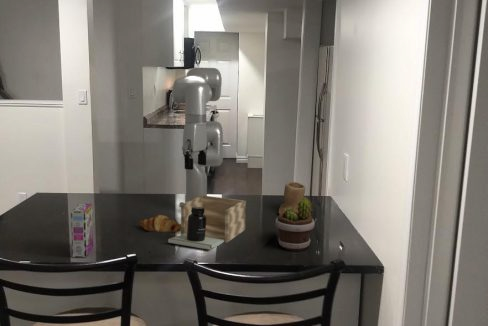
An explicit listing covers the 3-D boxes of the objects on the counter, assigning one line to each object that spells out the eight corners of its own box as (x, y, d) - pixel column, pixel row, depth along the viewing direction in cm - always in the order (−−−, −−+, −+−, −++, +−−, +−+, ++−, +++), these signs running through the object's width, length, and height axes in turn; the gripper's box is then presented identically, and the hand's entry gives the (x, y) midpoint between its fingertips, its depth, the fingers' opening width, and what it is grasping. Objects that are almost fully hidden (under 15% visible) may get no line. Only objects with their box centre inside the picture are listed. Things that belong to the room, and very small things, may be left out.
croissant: (188, 240, 191) (192, 221, 193) (178, 235, 182) (183, 215, 184) (142, 232, 198) (147, 214, 200) (131, 228, 189) (136, 209, 191)
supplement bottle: (202, 242, 170) (204, 209, 169) (184, 240, 171) (186, 207, 170) (207, 238, 176) (209, 207, 176) (189, 236, 178) (191, 205, 177)
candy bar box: (87, 257, 161) (85, 211, 158) (72, 258, 161) (69, 211, 158) (94, 246, 172) (92, 203, 169) (80, 246, 172) (78, 203, 169)
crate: (201, 225, 199) (201, 195, 197) (245, 232, 191) (245, 200, 189) (181, 237, 184) (181, 204, 181) (227, 245, 176) (228, 211, 174)
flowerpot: (274, 253, 169) (276, 199, 165) (274, 239, 184) (275, 189, 180) (315, 254, 168) (318, 200, 165) (311, 240, 183) (313, 190, 180)
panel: (184, 233, 183) (168, 238, 172) (223, 239, 176) (209, 245, 165) (184, 236, 183) (168, 242, 172) (223, 243, 176) (209, 249, 165)
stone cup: (303, 219, 211) (304, 186, 208) (276, 217, 213) (277, 185, 211) (305, 210, 225) (306, 179, 223) (280, 208, 228) (281, 178, 225)
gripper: (198, 117, 175) (198, 162, 178) (173, 120, 159) (174, 170, 162) (216, 118, 172) (215, 164, 175) (193, 121, 156) (193, 172, 160)
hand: (195, 166), depth 169 cm, fingers open, 9 cm apart
